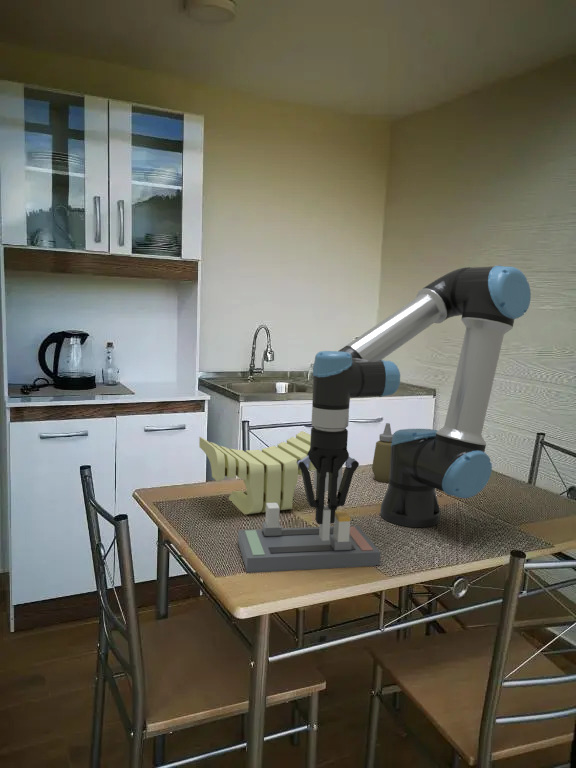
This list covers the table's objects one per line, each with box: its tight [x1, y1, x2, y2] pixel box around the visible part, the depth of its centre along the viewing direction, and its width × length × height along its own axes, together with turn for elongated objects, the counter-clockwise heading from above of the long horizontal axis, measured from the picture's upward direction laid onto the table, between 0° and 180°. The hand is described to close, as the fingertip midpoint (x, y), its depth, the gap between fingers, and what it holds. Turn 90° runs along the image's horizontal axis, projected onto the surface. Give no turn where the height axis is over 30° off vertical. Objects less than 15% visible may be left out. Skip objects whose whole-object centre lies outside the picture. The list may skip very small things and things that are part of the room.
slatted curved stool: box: [198, 430, 316, 515], centre depth 158 cm, size 30×16×18 cm, turn 114°
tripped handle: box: [330, 510, 352, 550], centre depth 126 cm, size 4×4×7 cm
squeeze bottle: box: [371, 422, 393, 483], centre depth 186 cm, size 8×8×18 cm
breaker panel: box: [237, 503, 382, 573], centre depth 129 cm, size 28×15×10 cm, turn 101°
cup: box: [313, 466, 343, 492], centre depth 177 cm, size 8×8×12 cm
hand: (324, 537), depth 125 cm, fingers closed
